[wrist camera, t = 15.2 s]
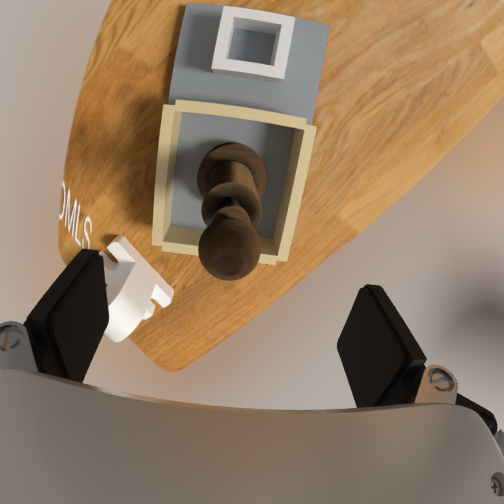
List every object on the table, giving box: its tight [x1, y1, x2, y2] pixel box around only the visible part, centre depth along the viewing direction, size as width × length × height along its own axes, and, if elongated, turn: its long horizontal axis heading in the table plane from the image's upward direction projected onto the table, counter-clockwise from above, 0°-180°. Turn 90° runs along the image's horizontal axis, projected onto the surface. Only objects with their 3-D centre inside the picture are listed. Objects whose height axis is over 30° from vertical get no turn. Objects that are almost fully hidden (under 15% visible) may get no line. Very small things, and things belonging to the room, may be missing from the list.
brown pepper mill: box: [197, 142, 267, 281], centre depth 22 cm, size 7×6×18 cm
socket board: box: [152, 3, 329, 265], centre depth 26 cm, size 14×24×5 cm, turn 171°
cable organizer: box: [99, 235, 174, 343], centre depth 31 cm, size 5×10×10 cm, turn 35°
